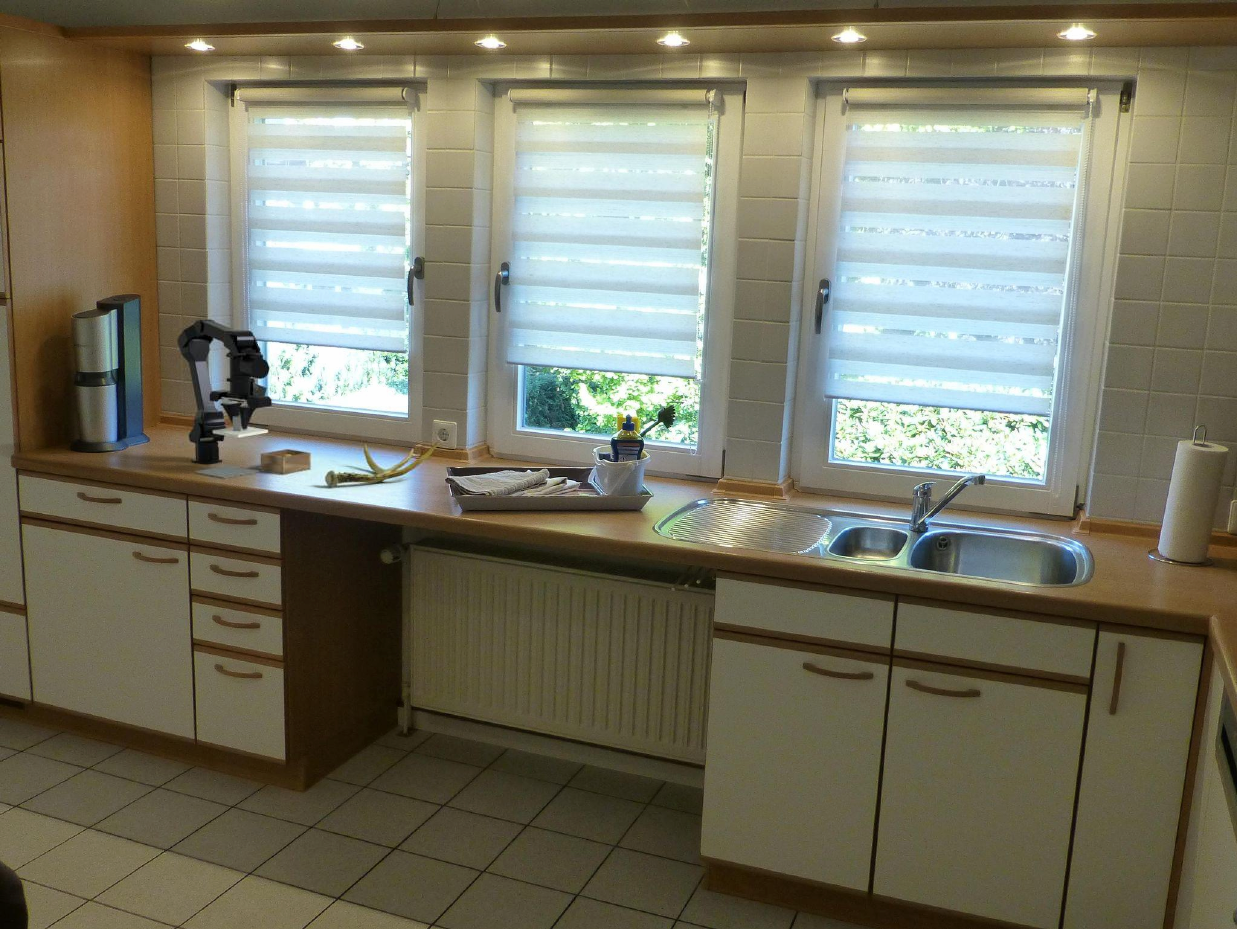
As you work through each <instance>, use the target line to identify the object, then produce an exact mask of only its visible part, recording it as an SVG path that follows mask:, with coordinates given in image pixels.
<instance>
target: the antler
mask: <svg viewBox="0 0 1237 929" xmlns="http://www.w3.org/2000/svg"><path fill="white" fill-rule="evenodd" d="M440 443H441V440H439V441H437V442H436V443H434V444H433V445H432V446H431V447H430V448H429V449H428V450H427V451H426V452H425V453H424V454H422V455H421V456H420V457H419V458H417V459H416V460H414V461H413V462H412V463H410V464H409V465H407V466H406V467H404V466H405V465H406V464H407V463H408V462H409V461H410V460H411V458H412V456H413V453H414V448H411V450H410V451H409V453H408V454H407V456H406V457H405V458H404V459H402V461H400V462H398V463H397V464H395V465H393V466H392V467H390V468H388V469H387V468H386V469H384V468H382V467H381V466H379V465H378V464H377V463H376V462H375V460H373V458H372V457H371V455H370V453H369V451H368V447H367V444H366V443H364V446H363V453H364V457H365V460H366V463H367V465H368V466H369V468H370V470H372V471H373V472H374V473H376V474H368V473H367V474H366V473H359V472H358V473H357V472H346V471H344V472H340V471H338V473H335V471H334V470H330V471H328V472H326V474H325V476H324V481H325V483H326V485H327V486H328V487H329V488H332V487H333V488H334V487H337V486H338V485H339V484H346V483H349V484H350V483H367V484H368V483H370V484H371V483H379V482H382V481H385V480H390V479H393V478H397V477H401V476H404V475H406V474H407V473H409V472H410V471H413V470H414V469H415V468H417V467H418V466H420V464H422V463H423V462H424V461H426V459H428V458H429V457H430V456H431V455H432V453H433V452H434V451H435V449H437V447H438V446H439V444H440ZM402 467H403V468H402Z"/></svg>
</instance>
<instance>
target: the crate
mask: <svg viewBox="0 0 1237 929" xmlns="http://www.w3.org/2000/svg"><path fill="white" fill-rule="evenodd" d="M311 453H312V452H308V451H302V450H297V449H290V448H286V449H281V450H274V451H268V452H264V453H260V471H261V470H263V471H262V472H266V473H274V474H277V473H279V474H278V475H283V476H284V475H289V474H294V473H298V472H303V470H304V471H309V470H311V469H312V467H311V466H312V464H311V463H312V462H311V455H312V454H311Z"/></svg>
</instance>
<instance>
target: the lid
mask: <svg viewBox="0 0 1237 929" xmlns="http://www.w3.org/2000/svg"><path fill="white" fill-rule="evenodd" d="M213 433H214V434H220V435H225V436H226V437H232V438H239V439H240V438H243V437H250V436H257V435H261V434H267V433H269V430H268V429H264V428H258V427H253V426H248V427H247V429H243V427H242V423H241V417H240V414H239V416H233V424H232V427H226V429H219V430H213Z"/></svg>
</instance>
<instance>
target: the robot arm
mask: <svg viewBox="0 0 1237 929" xmlns="http://www.w3.org/2000/svg"><path fill="white" fill-rule="evenodd" d="M214 340H217V341H220V342H221V343H223V347H224V348H226V349H227V350H228V351H229V352H227V353H226V354H225V357H226V358H229V377H226V383H227V382H228V383H229V390H226V389H216V390H212V384H211V380H210V374H209V369H208V363H207V358H208V356H209V353H210V351H211V348H210V345H211V344H212V343H213V341H214ZM177 346H178V348H179V351H180V354H181V356H182V357H183V358H184V359H185V360H186V362H188V366H189V370H190V376H191V381H192V387H193V392H194V397H195V403H196V408H197V411H196V414H195V415H194V417H193V427H192V429H191V430H190V432H189V433H188V440H189V442H190V443H193V444H195V445H194V446H195V451H194V452H195V459H191V460H190V461H191V462H192V463H197V464H203V465H209V464H215V463H221V462H223V459H221V458H220V447H219V442H225V436H226V435H220V434H214V433H213V430H219V429H226V428H227V424H226V421H225V416H224V412H223V411H222V410H221V411H220V410H218V408H216V405H215V402H216V403H217V402H218V401H220V400H221V402H222V403H219V404H220V406H222V408H223V409H224V411H225V413H226V415H227V416H228V418H229V420H230V421H231V424H232V425H233V416H239V415H240V417H241V423H242V427H243V429H247V427H249V424H250V422H251V418H252V416H253V413H254V412H255V410H256V409H261V408H268V407H269V408H270V407H273V402H272V401H273V400H272V398H271V397H270V396H267V395H266V394H267V387H265V386H262V385H261V384H257V383H255V382H256V380H255V379H259V380H263V379H264V378H266V377H267V376H268V375H269V372H270V369H271V368H270V365H269V363H268V361H267V360H266V359H264V354H262V351H261V350H262V349H261V347H260V346H259V344H258V342H257V338H256V337H255V335H254V333H253V331H251V330H248V329H247V330H245V329H233V328H231V327H229V326H226V325H223V324H221V323H219V322H216V321H215V320H213V319H208V318H207V319H198V320H196V321H195V322H194V323H193V324H192V325H189V326H188V327H186V328H185V329H184V330H182V332H180V334H179V336H178V337H177ZM242 404H243V405H242Z"/></svg>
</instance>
